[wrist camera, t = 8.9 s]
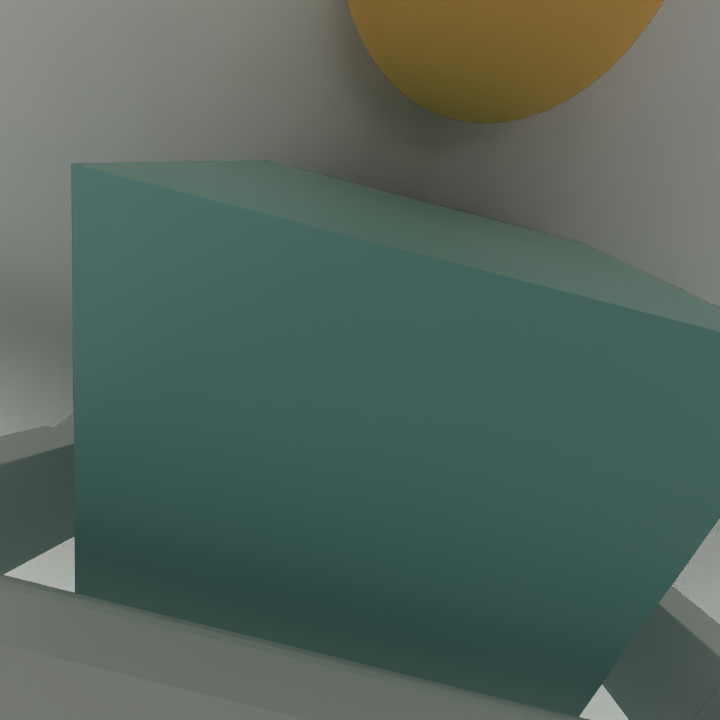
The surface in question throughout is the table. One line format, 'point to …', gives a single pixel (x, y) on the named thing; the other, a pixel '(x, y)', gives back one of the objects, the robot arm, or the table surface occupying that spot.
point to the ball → (497, 50)
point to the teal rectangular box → (382, 425)
